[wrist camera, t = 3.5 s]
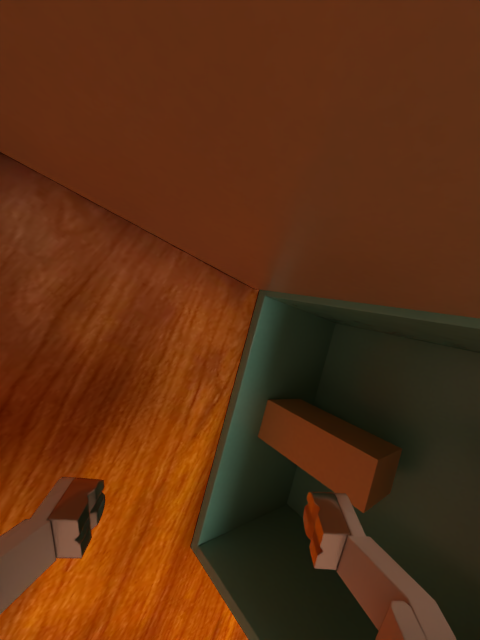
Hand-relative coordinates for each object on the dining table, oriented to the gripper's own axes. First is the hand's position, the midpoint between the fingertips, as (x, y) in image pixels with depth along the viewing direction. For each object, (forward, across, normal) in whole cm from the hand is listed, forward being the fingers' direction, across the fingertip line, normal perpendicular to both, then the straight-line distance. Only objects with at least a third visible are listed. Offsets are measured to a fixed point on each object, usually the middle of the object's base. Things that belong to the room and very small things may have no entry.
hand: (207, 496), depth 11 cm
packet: (+19, -8, +10) cm, 23 cm away
